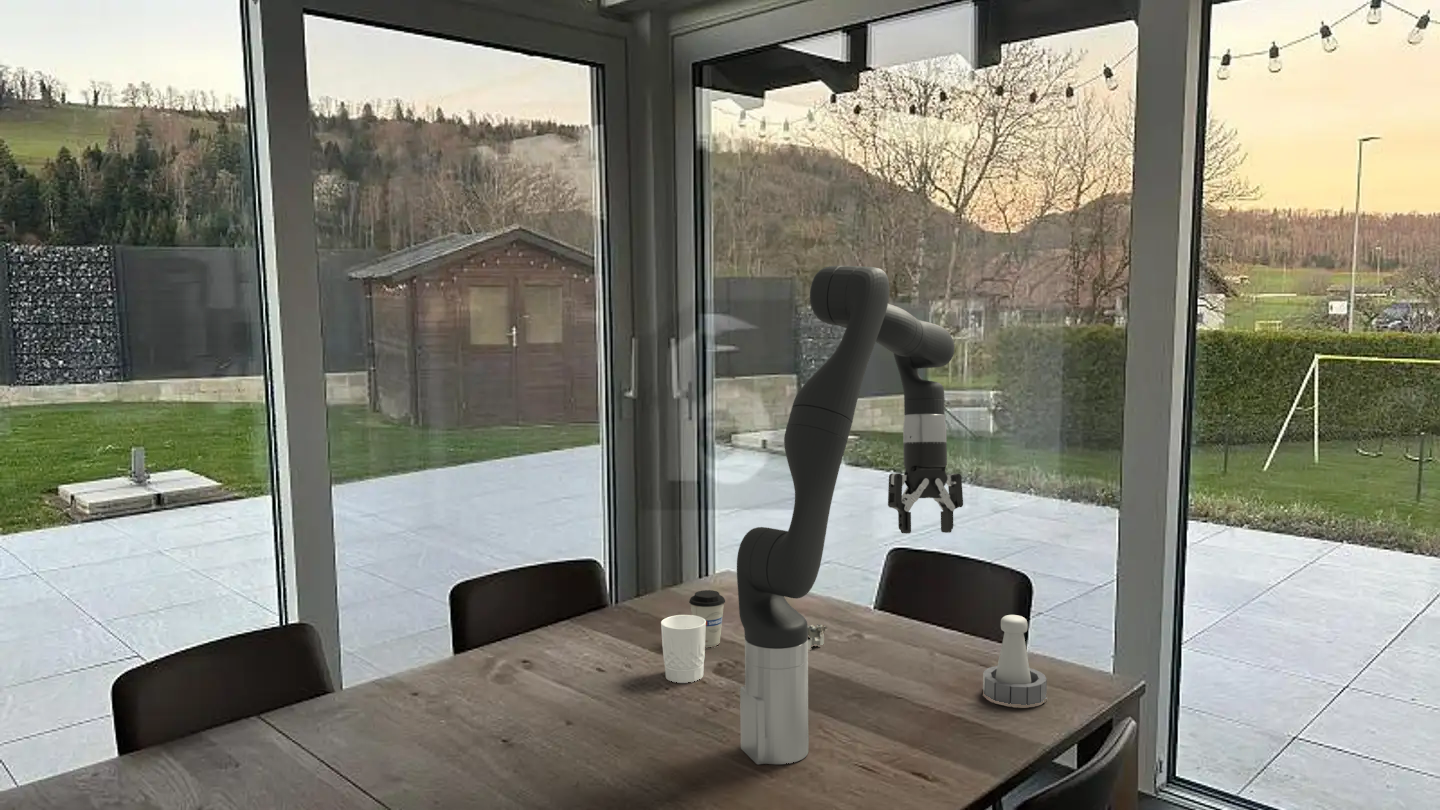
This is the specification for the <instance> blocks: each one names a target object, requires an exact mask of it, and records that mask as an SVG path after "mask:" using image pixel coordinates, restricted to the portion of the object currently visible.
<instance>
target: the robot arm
mask: <svg viewBox="0 0 1440 810" xmlns="http://www.w3.org/2000/svg"><path fill="white" fill-rule="evenodd" d="M889 300H890V282H889V278H888V275H887V273H886V272H885V271H884V270H883V269H881V268H878V267H873V266H861V265H830V266H826V267H823V268H821V269H820V270H819V271H818V272H817V273H816V274H815V276H814V277H813V279H812V281H811V285H810V290H809V302H810V303H809V304H810V306H811V307H810V308H811V310H812V312H813V314H814V315H815V316H816V318H817V319H818V320H819V321H820V322H823V323H825V324H829V325H831V326H838V327H842V328H845V330H844V333H843V336H842V338H841V340H840V342H839V345H838V346H837V347H836V350H835V351H834V353H832V355H831V356H830V357H829V358H828V360H826V362H825V363H823V365H822V366H821V367H819V369H818V370H817V371H815V373H814V374H813V375H812V376H811V377H810V378H809V379H808V380H807V381H806V382H805V383H804V384H803V386H802V387H801V388H800V389H799V391H798V392H797V394H796V395H795V397H794V400H793V403H792V406H791V410H790V414H789V417H788V420H787V425H786V429H785V432H784V436H783V437H784V438H783V445H784V451H785V456H786V460H787V464H788V468H789V471H790V475H791V479H792V482H793V488H794V504H793V511H792V517H791V520H790V524H789V527H788V530H785V529H783V530H782V529H778V528H772V527H764V526H760V527H759V526H758V527H754V528H752V529H750V530H748V532H746V534H745V535H744V536H743V538H742V540H741V542H740V544H739V548H738V551H737V556H736V580H737V584H736V585H737V595H738V597H737V599H738V613H739V620H740V622H741V625H742V626H743V627H742V628H743V630H744V631H743V632H744V685H743V686H742V685H741V686H740V688H739V704H740V705H739V707H740V708H739V711H740V712H739V713H740V718H739V719H740V721H739V722H740V724H739V725H740V749H741V750H742V751H743V753H745V754H746V755H747V756H748V757H749V758H750V759H751V760H752V761H753V762H754V763H755V764H756V765H764V764H765V765H767V764H769V765H786V763H787V764H788V763H789V764H793V762H794V763H797V762H799V761H801V760H803V759H805V758H806V757H807V755H808V754H809V651H808V640H809V639H808V626H809V625H808V622H807V620H806V617H804V615H802V613H800V612H799V611H797V610H796V609H795V608H794V607H792V605H791V604H790V603H789V601H787V600H786V598H790V599H801V598H803V597H805V596H806V595H808V593H810V591H811V589H812V588H813V586H814V584H815V582H816V580H817V579H818V574H819V571H820V567H821V563H822V558H823V553H824V546H825V540H826V536H827V535H826V534H827V529H828V522H829V516H830V511H831V505H832V501H833V496H834V492H835V488H836V484H837V480H838V477H839V476H838V475H839V472H840V468H841V464H842V461H843V457H844V454H845V450H846V447H847V444H848V440H849V436H850V434H851V433H850V432H851V428H852V425H853V421H854V416H855V412H856V408H857V402H858V399H859V395H860V391H861V387H862V385H863V380H864V376H865V374H866V371H867V368H868V364H869V362H870V359H871V355H872V353H873V351H874V347H875V344H876V343H877V344H879V345H880V346H882V347H883V348H885V349H887V351H888V350H889V352H891V353H893V357H894V360H895V364H896V366H897V370H898V374H899V377H900V380H901V381H900V382H901V385H902V390H903V400H904V401H903V404H904V405H903V407H904V408H903V409H904V418H903V419H904V421H903V428H902V431H903V433H902V435H903V436H902V439H903V466H904V469H905V471H904V474H901V473H889V475H888V491H887V492H888V493H887V494H888V495H887V506H888V508H890V509H894V510H896V511H897V513H898V514H897V515H898V520H897V521H898V529H899V531H900V532H901V534H911V533H912V512H911V509H912V507H913V505H914V504H915V503H916V502H918V500H919V499H933V500H934V501H935V502H937V504H938V505H939V507H940V509H941V510H942V511H940V531H941V532H942V533H948V534H949V533H952V530H953V528H954V511H955V510H956V509H958V508H962V507H963V506H964V496H963V481H962V474H960V473H948V474H947V472H946V468H947V465H948V457H947V456H948V455H947V454H948V453H947V449H948V448H947V446H948V444H947V443H948V442H947V424H946V423H947V422H946V418H945V417H946V416H945V389H944V386H943V384H942V383H940V382H938V381H932V380H928V379H926V380H925V379H923V378H922V377H921V376H920V374H919V370H918V369H930V368H931V369H933V368H941V367H944V366H946V365H948V364H949V363H950V362H951V360H952V359H953V357H954V354H955V342H954V338H953V337H952V335H951V334H950V332H949V331H948V330H947V328H945V327H943V326H940V325H939V324H935V323H931V322H928V321H925V320H920V319H918V318H917V317H915V316H914V315H912V314H911V313H910V312H908V311H906V310H905V309H903V308H900V307H899V306H896V305H893V304H891V303H889ZM946 484H947V486H948V488H947V489H948V490H947V489H946V488H945V486H946ZM904 485H905V486H906V488H905V490H904V491H903V486H904Z"/></svg>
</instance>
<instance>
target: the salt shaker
mask: <svg viewBox="0 0 1440 810" xmlns="http://www.w3.org/2000/svg"><path fill="white" fill-rule="evenodd" d="M1027 620H1028V619H1026V618H1025V617H1023V616H1022V615H1017V614H1008V615H1004V616H1003V617H1002V618H1001V619H1000V629H1001V631H1003V632H1004V633H1003V639H1002V642H1001V643H1002V644H1001V647H1000V648H1001V649H1000V653H999V658H998V662H997V665H996V666H997V670H996V675H995V679H996V680H998V681H1001V682H1005V683H1009V684H1030V683H1031V676H1030V669H1029V668H1030V665H1029V658H1028V657H1029V656H1028V651H1027V646H1026V645H1027V644H1026V641H1025V640H1026V639H1025V633H1027V631H1028V627H1029V626H1028V625H1029V624H1028V621H1027Z"/></svg>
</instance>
